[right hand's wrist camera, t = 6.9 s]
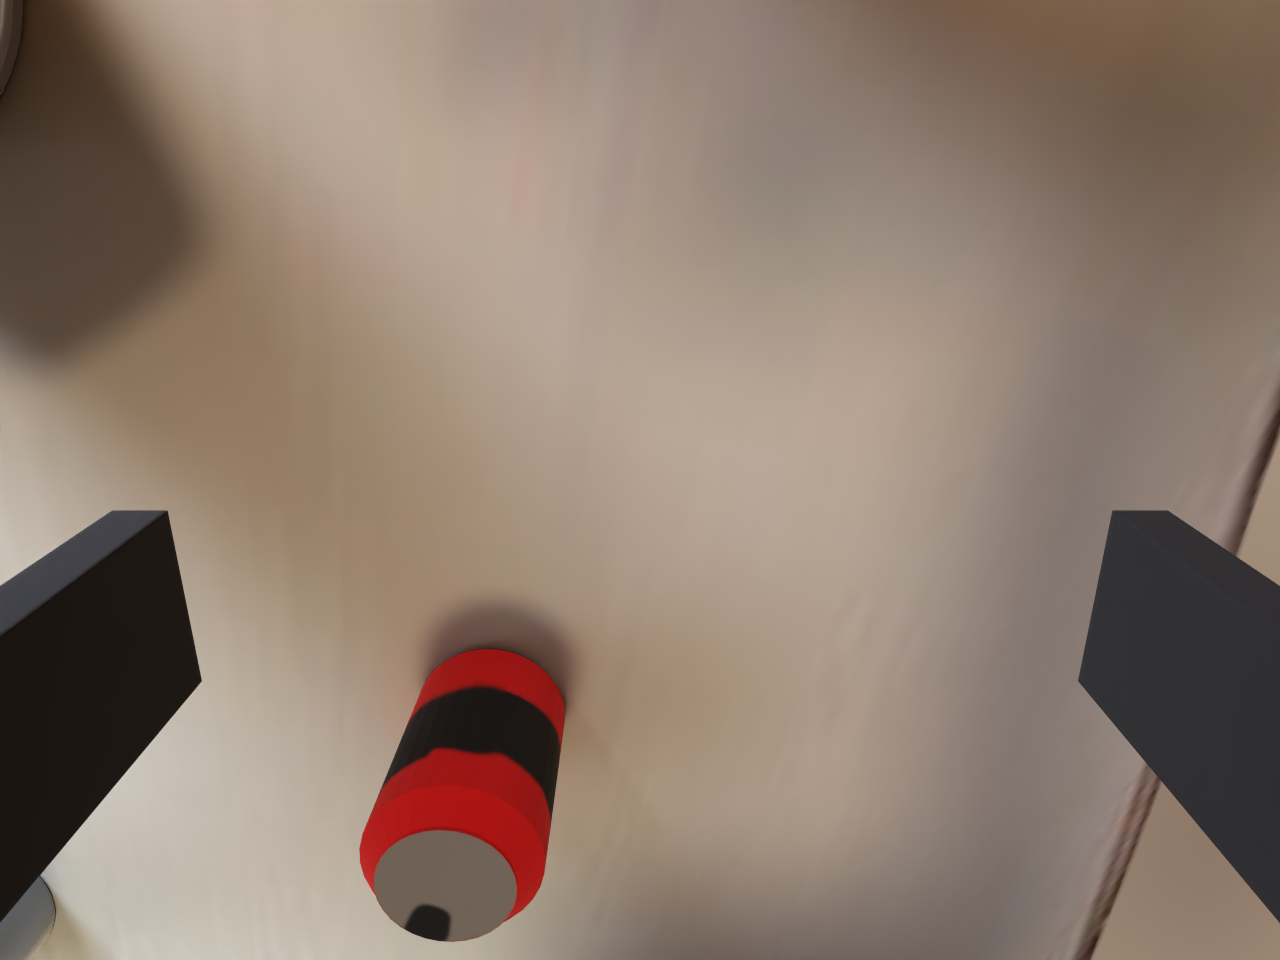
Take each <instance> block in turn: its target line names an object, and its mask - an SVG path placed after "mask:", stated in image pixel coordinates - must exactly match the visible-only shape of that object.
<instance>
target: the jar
mask: <svg viewBox="0 0 1280 960" xmlns="http://www.w3.org/2000/svg"><path fill="white" fill-rule="evenodd" d="M54 920H55V907H54V902H53V899H52V896H51V894H50V892H49V890H48V888H47V886H46V885H45V883H44V882H43V880H42V879H41V878H40V877H38V878H37V879H36V881H35V882H34V883H33V884H32V885H31V887H30V888H29V889H28V890H27V891H26V893H25V894H24V895H23V896H22V897H21V899H20V900H19V901H18V902H17V903H16V905H15V906H14V907H13V908H12V909H11V911H10V912H9V913H8V914H7V915H6V917H5V918H4V919H3V920H2V921H1V923H0V960H31V958H32V957H33V956H34V954H35V953H36V952H37V951H38V949H39V948H40V947H41V945H42V944H43V943H44V941H45V940H46V939H47V937H48V936H49V934H50V932H51V930H52V928H53V925H54Z"/></svg>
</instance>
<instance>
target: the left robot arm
mask: <svg viewBox="0 0 1280 960" xmlns="http://www.w3.org/2000/svg"><path fill="white" fill-rule="evenodd" d="M22 15H23V0H0V96H1V94H2V92H3V90H4V88H5V86H6V84H7V82H8V80H9V77H10V75H11V72H12V69H13V66H14V64H15V60H16V56H17V52H18V48H19V43H20V36H21V29H22Z"/></svg>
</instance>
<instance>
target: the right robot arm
mask: <svg viewBox="0 0 1280 960" xmlns="http://www.w3.org/2000/svg"><path fill="white" fill-rule="evenodd" d="M201 681H202V680H201V675H200V670H199V665H198V660H197V655H196V650H195V645H194V640H193V635H192V630H191V625H190V620H189V615H188V610H187V605H186V600H185V595H184V590H183V585H182V580H181V575H180V570H179V565H178V560H177V555H176V550H175V546H174V541H173V536H172V531H171V526H170V521H169V516H168V511H111V512H110V513H108V514H107V515H105V516H104V517H102V518H101V519H99V520H98V521H96V522H95V523H93V524H92V525H90V526H89V527H87V528H86V529H84V530H83V531H81V532H80V533H78V534H77V535H75V536H74V537H72V538H71V539H69V540H68V541H66V542H65V543H63V544H62V545H60V546H59V547H58V548H56V549H55V550H53V551H52V552H50V553H49V554H47V555H46V556H44V557H43V558H41V559H40V560H38V561H37V562H35V563H34V564H32V565H31V566H29V567H28V568H26V569H25V570H23V571H22V572H20V573H19V574H17V575H16V576H14V577H13V578H11V579H10V580H8V581H7V582H5V583H4V584H3V585H1V586H0V923H1V921H2V920H3V919H4V918H5V917H6V915H7V914H8V913H9V912H10V911H11V909H12V908H13V907H14V906H15V905H16V903H17V902H18V901H19V900H20V899H21V897H22V896H23V895H24V894H25V893H26V891H27V890H28V889H29V888H30V887H31V885H32V884H33V883H34V882H35V881H36V879H37V878H38V877H39V876H40V875H41V873H42V872H43V871H44V870H45V869H46V867H47V866H48V865H49V864H50V863H51V861H52V860H53V859H54V858H55V857H56V855H57V854H58V853H59V852H60V851H61V849H62V848H63V847H64V846H65V845H66V843H67V842H68V841H69V840H70V839H71V837H72V836H73V835H74V834H75V833H76V831H77V830H78V829H79V828H80V827H81V825H82V824H83V823H84V822H85V821H86V819H87V818H88V817H89V816H90V815H91V813H92V812H93V811H94V810H95V809H96V807H97V806H98V805H99V804H100V803H101V801H102V800H103V799H104V798H105V797H106V795H107V794H108V793H109V792H110V791H111V789H112V788H113V787H114V786H115V785H116V783H117V782H118V781H119V780H120V779H121V777H122V776H123V775H124V774H125V773H126V771H127V770H128V769H129V768H130V767H131V765H132V764H133V763H134V762H135V761H136V759H137V758H138V757H139V756H140V755H141V753H142V752H143V751H144V750H145V749H146V747H147V746H148V745H149V744H150V743H151V741H152V740H153V739H154V738H155V737H156V735H157V734H158V733H159V732H160V731H161V729H162V728H163V727H164V726H165V725H166V723H167V722H168V721H169V720H170V719H171V717H172V716H173V715H174V714H175V713H176V711H177V710H178V709H179V708H180V707H181V705H182V704H183V703H184V702H185V701H186V699H187V698H188V697H189V696H190V695H191V693H192V692H193V691H194V690H195V689H196V687H197V686H198V685H199V684H200V683H201ZM1078 681H1079V683H1080V684H1081V685H1082V686H1083V687H1084V689H1085V690H1086V691H1087V692H1088V693H1089V695H1090V696H1091V697H1092V698H1093V699H1094V701H1095V702H1096V703H1097V704H1098V705H1099V707H1100V708H1101V709H1102V710H1103V711H1104V713H1105V714H1106V715H1107V716H1108V717H1109V719H1110V720H1111V721H1112V722H1113V723H1114V725H1115V726H1116V727H1117V728H1118V729H1119V731H1120V732H1121V733H1122V734H1123V735H1124V737H1125V738H1126V739H1127V740H1128V741H1129V743H1130V744H1131V745H1132V746H1133V747H1134V749H1135V750H1136V751H1137V752H1138V753H1139V755H1140V756H1141V757H1142V758H1143V759H1144V761H1145V762H1146V763H1147V764H1148V765H1149V767H1150V768H1151V769H1152V770H1153V771H1154V773H1155V774H1156V775H1157V776H1158V777H1159V779H1160V780H1161V781H1162V782H1163V783H1164V785H1165V786H1166V787H1167V788H1168V789H1169V791H1170V792H1171V793H1172V794H1173V795H1174V797H1175V798H1176V799H1177V800H1178V801H1179V803H1180V804H1181V805H1182V806H1183V807H1184V809H1185V810H1186V811H1187V812H1188V813H1189V815H1190V816H1191V817H1192V818H1193V819H1194V821H1195V822H1196V823H1197V824H1198V825H1199V827H1200V828H1201V829H1202V830H1203V831H1204V833H1205V834H1206V835H1207V836H1208V837H1209V838H1210V840H1211V841H1212V842H1213V843H1214V845H1215V846H1216V847H1217V848H1218V849H1219V850H1220V852H1221V853H1222V854H1223V855H1224V857H1225V858H1226V859H1227V860H1228V861H1229V863H1230V864H1231V865H1232V866H1233V867H1234V869H1235V870H1236V871H1237V872H1238V873H1239V875H1240V876H1241V877H1242V878H1243V879H1244V881H1245V882H1246V883H1247V884H1248V885H1249V887H1250V888H1251V889H1252V890H1253V891H1254V893H1255V894H1256V895H1257V896H1258V897H1259V899H1260V900H1261V901H1262V902H1263V903H1264V905H1265V906H1266V907H1267V908H1268V909H1269V910H1270V912H1271V913H1272V914H1273V915H1274V917H1275V918H1276V919H1277V920H1278V921H1279V923H1280V586H1279V585H1277V584H1276V583H1275V582H1273V581H1271V580H1270V579H1269V578H1267V577H1265V576H1264V575H1263V574H1261V573H1260V572H1258V571H1257V570H1255V569H1254V568H1252V567H1251V566H1249V565H1248V564H1246V563H1245V562H1243V561H1242V560H1240V559H1239V558H1237V557H1236V556H1234V555H1233V554H1231V553H1230V552H1228V551H1227V550H1225V549H1224V548H1222V547H1221V546H1220V545H1218V544H1217V543H1215V542H1214V541H1212V540H1211V539H1209V538H1208V537H1206V536H1205V535H1203V534H1202V533H1200V532H1199V531H1197V530H1196V529H1194V528H1193V527H1191V526H1190V525H1188V524H1187V523H1185V522H1184V521H1182V520H1181V519H1179V518H1178V517H1176V516H1175V515H1173V514H1172V513H1170V512H1169V511H1112V516H1111V521H1110V526H1109V531H1108V536H1107V541H1106V546H1105V550H1104V555H1103V560H1102V565H1101V570H1100V575H1099V580H1098V585H1097V590H1096V595H1095V600H1094V605H1093V610H1092V615H1091V620H1090V625H1089V630H1088V635H1087V640H1086V645H1085V650H1084V655H1083V660H1082V665H1081V670H1080V675H1079V679H1078Z"/></svg>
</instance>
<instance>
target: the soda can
mask: <svg viewBox="0 0 1280 960" xmlns="http://www.w3.org/2000/svg"><path fill="white" fill-rule="evenodd" d="M564 719H565V709H564V703H563V699H562V696H561V694H560V692H559V689H558V687H557V686H556V684H555V683H554V681H553V680H552V678H551V677H550V676H549V675H548V674H547V673H546V672H545V671H544V670H543V669H542V668H541V667H539V666H538V665H536V664H535V663H533V662H532V661H530V660H529V659H527V658H524V657H522V656H520V655H517V654H515V653H511V652H507V651H502V650H492V649H482V650H473V651H468V652H465V653H461V654H458V655H456V656H454V657H452V658H450V659H448V660H446V661H445V662H443V663H442V664H441V665H440V666H438V667H437V668H436V669H435V670H434V671H433V672H432V673H431V675H430V676H429V677H428V678H427V680H426V682H425V684H424V686H423V688H422V690H421V693H420V695H419V697H418V700H417V702H416V705H415V707H414V710H413V712H412V715H411V717H410V719H409V722H408V724H407V727H406V729H405V732H404V734H403V737H402V739H401V742H400V744H399V746H398V749H397V751H396V754H395V756H394V759H393V761H392V764H391V766H390V768H389V771H388V773H387V776H386V778H385V781H384V783H383V786H382V788H381V790H380V793H379V795H378V798H377V800H376V803H375V805H374V808H373V810H372V812H371V815H370V817H369V820H368V822H367V825H366V827H365V830H364V832H363V835H362V839H361V844H360V863H361V867H362V870H363V874H364V877H365V879H366V880H367V882H368V884H369V886H370V888H371V889H372V891H373V892H374V894H375V895H376V898H377V900H378V902H379V904H380V906H381V908H382V909H383V911H384V912H385V913H386V914H387V915H388V916H389V918H390V919H391V920H393V921H394V922H395V923H396V924H398V925H399V926H400V927H402V928H403V929H405V930H407V931H409V932H411V933H412V934H415V935H418V936H421V937H423V938H427V939H432V940H437V941H449V942H455V941H466V940H470V939H474V938H478V937H480V936H483V935H485V934H487V933H489V932H491V931H493V930H494V929H495V928H497V927H498V926H500V925H501V924H502V923H503V922H505V921H507V920H508V919H510V918H511V917H513V916H514V915H516V914H517V913H519V912H520V911H522V910H523V909H524V908H525V907H526V906H527V905H528V904H529V903H530V902H531V900H532V899H533V898H534V896H535V895H536V893H537V891H538V890H539V888H540V886H541V882H542V879H543V876H544V872H545V864H546V857H547V849H548V842H549V834H550V827H551V819H552V812H553V804H554V797H555V789H556V782H557V774H558V767H559V759H560V752H561V744H562V737H563V729H564Z"/></svg>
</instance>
